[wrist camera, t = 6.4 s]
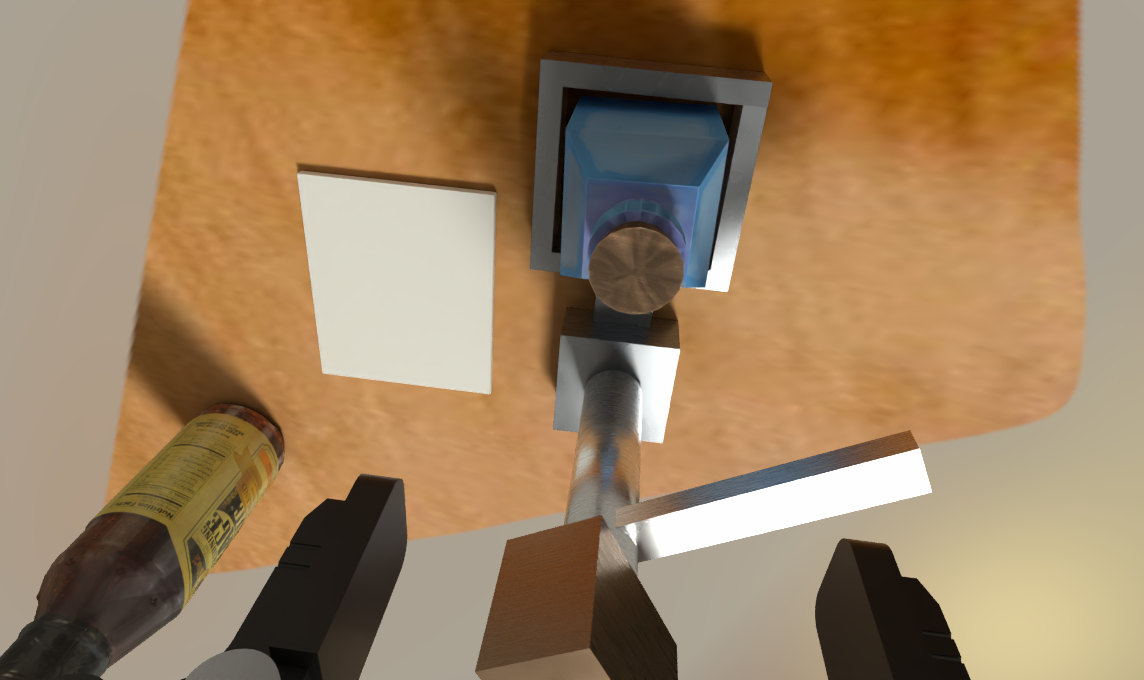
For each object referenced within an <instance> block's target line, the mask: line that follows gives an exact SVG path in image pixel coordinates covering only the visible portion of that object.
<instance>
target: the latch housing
mask: <svg viewBox="0 0 1144 680" xmlns="http://www.w3.org/2000/svg"><path fill="white" fill-rule="evenodd" d="M772 84H773V82H772V81H771V80H770V78H769V77H768V76H767V75H766V73H765V72H757V71H747V70H737V69H727V68H717V67H707V66H697V65H687V64H677V63H667V62H657V61H647V60H637V59H628V58H618V57H608V56H598V55H588V54H578V53H568V52H558V51H548V52H547V53H546V54H545V55H544V56H543V57H542V58H541V62H540V82H539V101H538V120H537V140H536V159H535V178H534V198H533V217H532V236H531V256H530V269H534V270H543V271H551V272H560V262H561V238H562V234H561V233H558V222H559V209H560V195H561V181H562V167H563V153H564V139H565V126H566V112H567V98H568V87H570V88H580V89H590V90H600V91H609V92H619V93H629V94H639V95H648V96H658V97H668V98H678V99H687V100H697V101H707V102H717V103H726V104H735V107H734V113H733V118H732V123H731V128H730V133H729V144H728V150H727V157H726V163H725V169H724V175H723V181H722V188H721V194H720V200H719V206H718V212H717V219H716V225H715V231H714V237H713V243H712V250H711V256H710V262H709V268H708V274H707V281H706V287H705V288H698V289H707V290H716V291H724V292H728V287H729V283H730V278H731V274H732V269H733V264H734V260H735V255H736V251H737V246H738V241H739V237H740V232H741V227H742V223H743V218H744V214H745V209H746V204H747V200H748V195H749V190H750V186H751V181H752V177H753V172H754V167H755V163H756V158H757V154H758V149H759V144H760V140H761V135H762V130H763V126H764V121H765V117H766V112H767V107H768V103H769V98H770V93H771V89H772ZM652 313H653V311H652V312H649V313H646V314H628V313H623V312H619V311H616V310H615V309H613V308H611V307H609V306H607V305H606V304H604V303H603V302H602V301H601V299H600V298H599V297H598V296H597V295H596V298H595V308H594V311H593V310H584V309H576V308H567V310H566V314H565V319H564V323H563V327H562V331H561V337H560V349H559V362H558V374H557V386H556V399H555V411H554V423H553V429H554V430H562V431H570V432H578V430H579V424H580V417H581V411H582V404H583V398H584V391H585V387H586V384H587V382H588V381H589V380H590V379H591V378H592V377H593V376H594V375H596V374H598V373H600V372H603V371H607V370H617V371H622V372H625V373H627V374H629V375H631V376H632V377H633V378H634V379H635V380H636V381H637V382H638V383H639V385H640V387H641V390H642V423H641V441H649V442H657V443H663V437H664V432H665V427H666V421H667V416H668V411H669V405H670V400H671V394H672V389H673V384H674V378H675V373H676V368H677V362H678V357H679V351H680V343H679V327H678V321H677V320H669V319H660V318H652Z"/></svg>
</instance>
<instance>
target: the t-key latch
mask: <svg viewBox="0 0 1144 680" xmlns="http://www.w3.org/2000/svg"><path fill="white" fill-rule="evenodd" d="M641 423H642V390H641V387H640V385H639V383H638V382H637V381H636V380H635V379H634V378H633V377H632V376H631V375H629V374H627V373H625V372H622V371H617V370H607V371H603V372H600V373H598V374H596V375H594V376H593V377H592V378H591V379H590V380H589V381H588V382H587V384H586V387H585V391H584V398H583V404H582V411H581V417H580V424H579V430H578V437H577V443H576V450H575V456H574V463H573V469H572V476H571V482H570V489H569V495H568V502H567V508H566V515H565V521H564V525H563V526H559V527H555V528H552V529H548V530H544V531H540V532H537V533H533V534H529V535H525V536H521V537H518V538H514V539H510V540H507V543H506V547H505V551H504V555H503V559H502V564H501V568H500V572H499V576H498V580H497V584H496V588H495V592H494V596H493V600H492V604H491V608H490V613H489V617H488V621H487V625H486V629H485V633H484V637H483V641H482V645H481V650H480V654H479V658H478V662H477V666H476V670H475V672H476V674H477V675H478V676H479V677H480V679H481V680H678V669H677V645H676V643H675V642H674V640H673V638H672V636H671V634H670V633H669V631H668V629H667V628H666V626H665V624H664V623H663V620H662V619H661V617H660V615H659V614H658V612H657V610H656V608H655V607H654V605H653V603H652V602H651V600H650V598H649V596H648V594H647V593H646V591H645V589H644V588H643V586H642V584H641V582H640V581H639V579H638V577H637V572H638V563H639V562H642V561H647V560H651V559H655V558H659V557H664V556H668V555H672V554H676V553H680V552H684V551H689V550H693V549H697V548H701V547H705V546H709V545H714V544H718V543H722V542H726V541H730V540H734V539H738V538H743V537H747V536H751V535H755V534H760V533H764V532H768V531H772V530H776V529H780V528H784V527H788V526H793V525H797V524H801V523H805V522H809V521H813V520H818V519H822V518H826V517H830V516H834V515H838V514H843V513H847V512H851V511H855V510H859V509H864V508H867V507H872V506H876V505H880V504H884V503H889V502H893V501H897V500H901V499H905V498H909V497H913V496H918V495H922V494H926V493H930V492H932V491H931V488H930V484H929V481H928V477H927V474H926V470H925V467H924V463H923V460H922V456H921V452H920V449H919V447H918V445H917V443H916V441H915V439H914V437H913V435H912V433H911V431H910V430H909V431H905V432H901V433H898V434H894V435H890V436H886V437H883V438H879V439H875V440H872V441H868V442H864V443H860V444H857V445H853V446H849V447H845V448H842V449H838V450H834V451H830V452H827V453H823V454H819V455H815V456H812V457H808V458H804V459H800V460H797V461H793V462H789V463H786V464H782V465H778V466H774V467H771V468H767V469H763V470H759V471H756V472H752V473H748V474H744V475H741V476H737V477H733V478H729V479H726V480H722V481H718V482H714V483H711V484H707V485H703V486H700V487H696V488H692V489H688V490H685V491H681V492H677V493H673V494H670V495H666V496H662V497H658V498H655V499H651V500H647V501H644V502H640V503H639V497H640V460H641Z"/></svg>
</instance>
